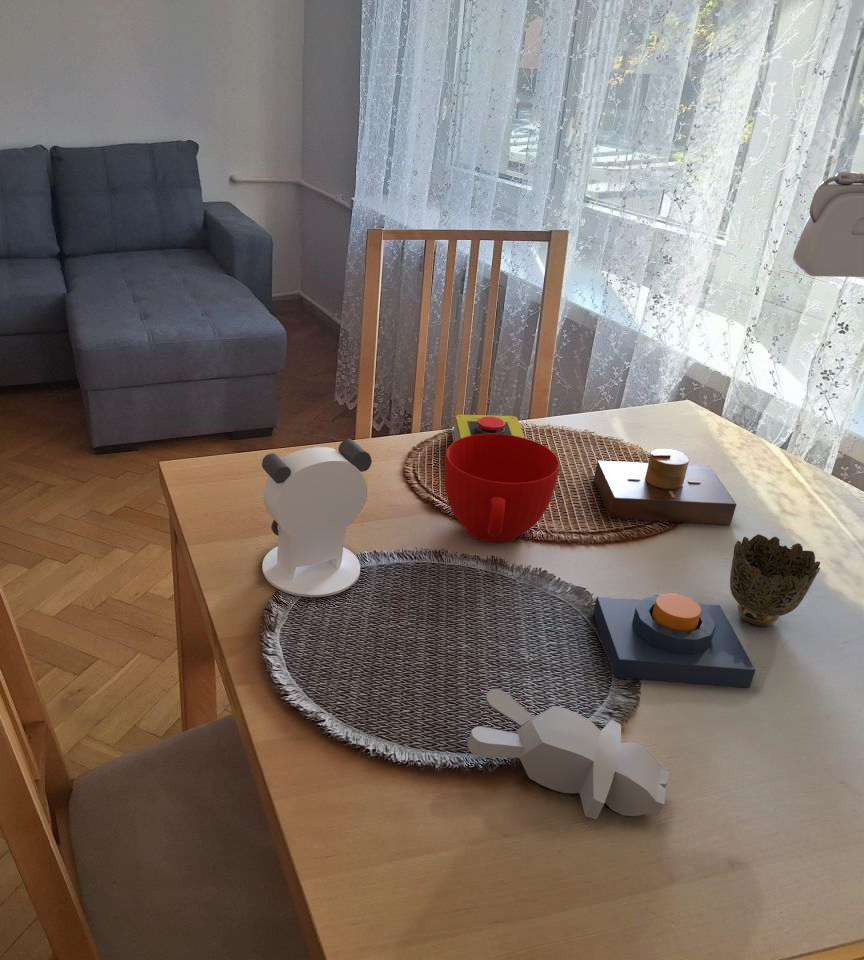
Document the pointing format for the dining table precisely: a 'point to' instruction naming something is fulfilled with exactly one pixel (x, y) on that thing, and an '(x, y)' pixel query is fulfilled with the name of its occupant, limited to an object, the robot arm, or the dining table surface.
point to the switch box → (671, 645)
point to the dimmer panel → (663, 495)
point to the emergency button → (485, 426)
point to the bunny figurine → (576, 758)
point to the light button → (676, 612)
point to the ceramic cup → (499, 484)
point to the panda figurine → (314, 518)
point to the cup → (770, 578)
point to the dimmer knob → (667, 468)
